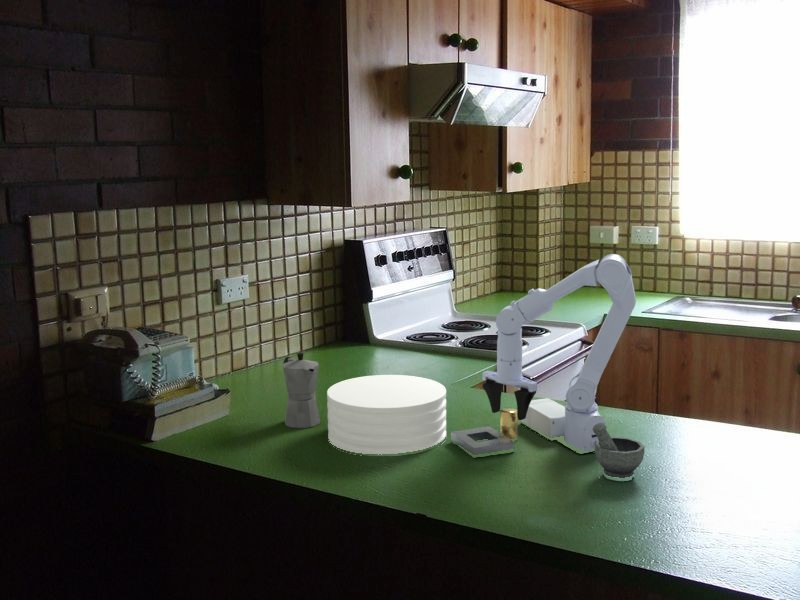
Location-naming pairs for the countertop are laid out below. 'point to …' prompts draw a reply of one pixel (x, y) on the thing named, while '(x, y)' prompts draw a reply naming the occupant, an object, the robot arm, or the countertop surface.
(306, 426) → the coffeepot
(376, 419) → the plate stack
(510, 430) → the cylinder
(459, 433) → the jig
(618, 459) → the mortar and pestle
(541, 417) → the skincare box
